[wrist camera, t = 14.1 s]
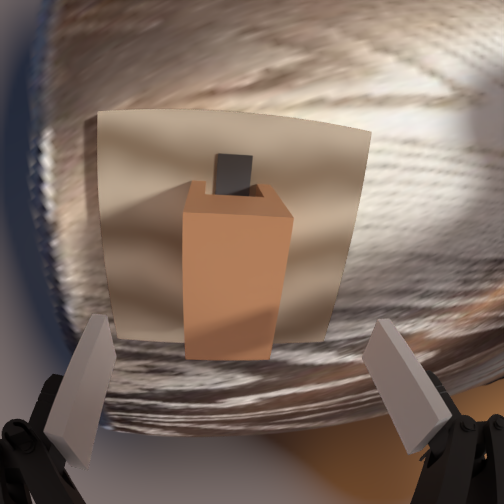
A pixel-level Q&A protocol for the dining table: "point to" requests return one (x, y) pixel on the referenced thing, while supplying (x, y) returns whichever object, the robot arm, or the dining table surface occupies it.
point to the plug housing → (233, 272)
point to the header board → (222, 183)
